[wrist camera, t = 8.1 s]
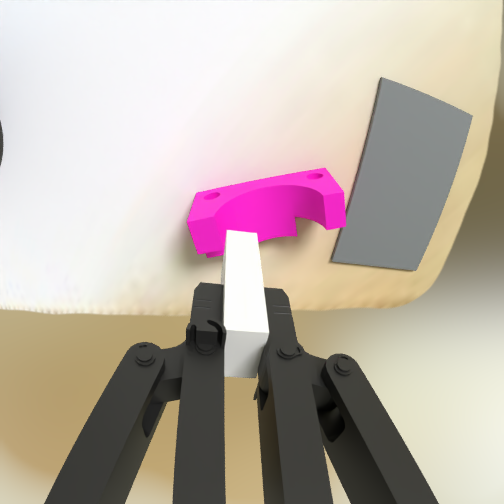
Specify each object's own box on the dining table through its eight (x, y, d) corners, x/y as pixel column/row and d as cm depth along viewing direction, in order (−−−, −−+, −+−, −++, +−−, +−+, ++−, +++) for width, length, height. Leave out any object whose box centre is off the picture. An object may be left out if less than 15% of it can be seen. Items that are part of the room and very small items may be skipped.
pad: (331, 258, 41) (332, 261, 41) (380, 77, 28) (383, 77, 28) (414, 268, 43) (416, 270, 42) (469, 114, 30) (472, 115, 29)
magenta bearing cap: (210, 237, 39) (204, 274, 33) (196, 192, 36) (186, 222, 29) (329, 215, 38) (347, 247, 32) (324, 167, 34) (343, 191, 28)
